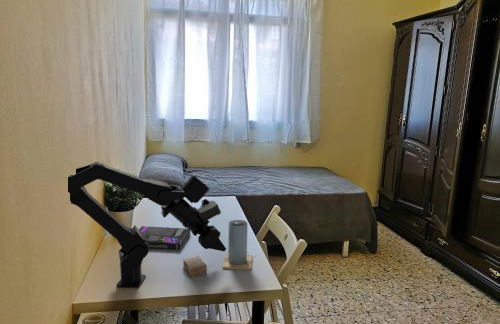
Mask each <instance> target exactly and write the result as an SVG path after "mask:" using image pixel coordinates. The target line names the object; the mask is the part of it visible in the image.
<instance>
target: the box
mask: <svg viewBox="0 0 500 324" xmlns="http://www.w3.org/2000/svg"><path fill="white" fill-rule="evenodd" d="M138 229H139V231H141V232H143V233H144V234H145V237H146V239H147V244H148V247H149V250H165V249H166V251H168V250H169V251H182V248H183V247H184V246H185V244H186V243H187V241H188V240H189V238H190V237H191V231H190V230H189V229H188V228H185V227H184V228H181V227H164V226H162V227H161V226H160V227H159V226H140V228H138Z"/></svg>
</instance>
